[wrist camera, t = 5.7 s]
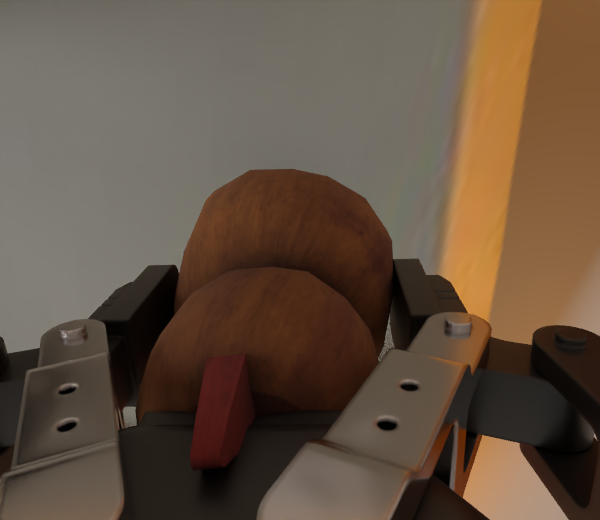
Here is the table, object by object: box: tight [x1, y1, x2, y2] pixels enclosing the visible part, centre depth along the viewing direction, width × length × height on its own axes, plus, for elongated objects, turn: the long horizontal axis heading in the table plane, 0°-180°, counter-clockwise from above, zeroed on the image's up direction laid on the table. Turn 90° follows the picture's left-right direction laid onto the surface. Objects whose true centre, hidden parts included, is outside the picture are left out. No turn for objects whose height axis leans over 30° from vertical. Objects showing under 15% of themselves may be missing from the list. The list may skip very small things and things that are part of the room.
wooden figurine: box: [135, 169, 393, 470], centre depth 12 cm, size 7×6×15 cm
